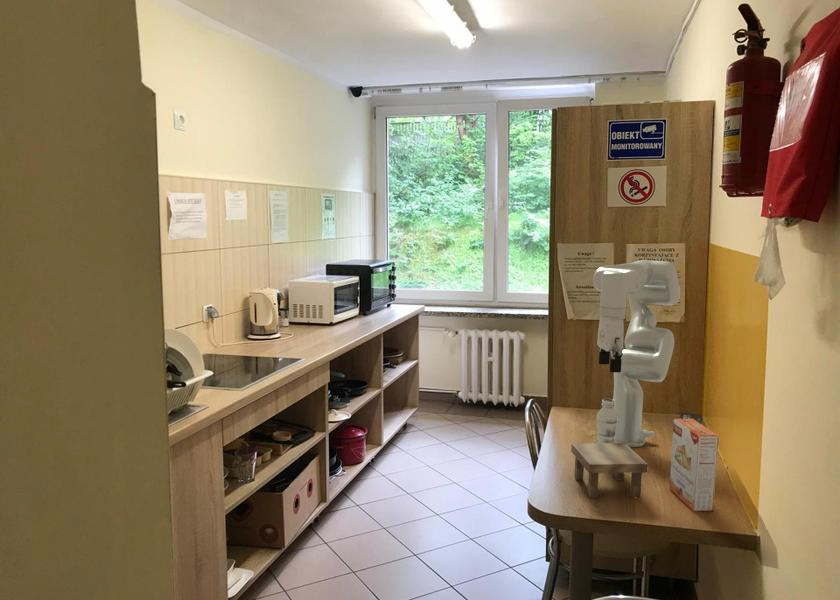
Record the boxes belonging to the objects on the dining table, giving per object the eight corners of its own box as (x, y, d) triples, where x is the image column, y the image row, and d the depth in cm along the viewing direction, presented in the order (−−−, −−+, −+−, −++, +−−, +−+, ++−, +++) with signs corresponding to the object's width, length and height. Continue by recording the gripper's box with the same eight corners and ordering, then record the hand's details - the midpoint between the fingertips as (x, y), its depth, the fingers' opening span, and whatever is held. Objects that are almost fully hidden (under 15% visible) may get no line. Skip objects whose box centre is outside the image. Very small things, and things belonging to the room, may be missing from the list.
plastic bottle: (609, 458, 208) (613, 396, 205) (619, 466, 201) (623, 403, 198) (590, 459, 207) (593, 397, 204) (599, 467, 200) (603, 403, 197)
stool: (623, 475, 194) (625, 443, 193) (645, 499, 178) (647, 463, 177) (569, 476, 193) (571, 443, 192) (587, 500, 177) (589, 464, 176)
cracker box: (667, 489, 185) (672, 417, 182) (688, 489, 185) (693, 417, 183) (691, 512, 171) (697, 434, 168) (713, 511, 172) (720, 434, 169)
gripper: (591, 307, 206) (588, 361, 208) (610, 317, 189) (607, 375, 191) (614, 308, 206) (611, 361, 209) (636, 317, 189) (632, 375, 192)
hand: (609, 368), depth 200 cm, fingers open, 9 cm apart
